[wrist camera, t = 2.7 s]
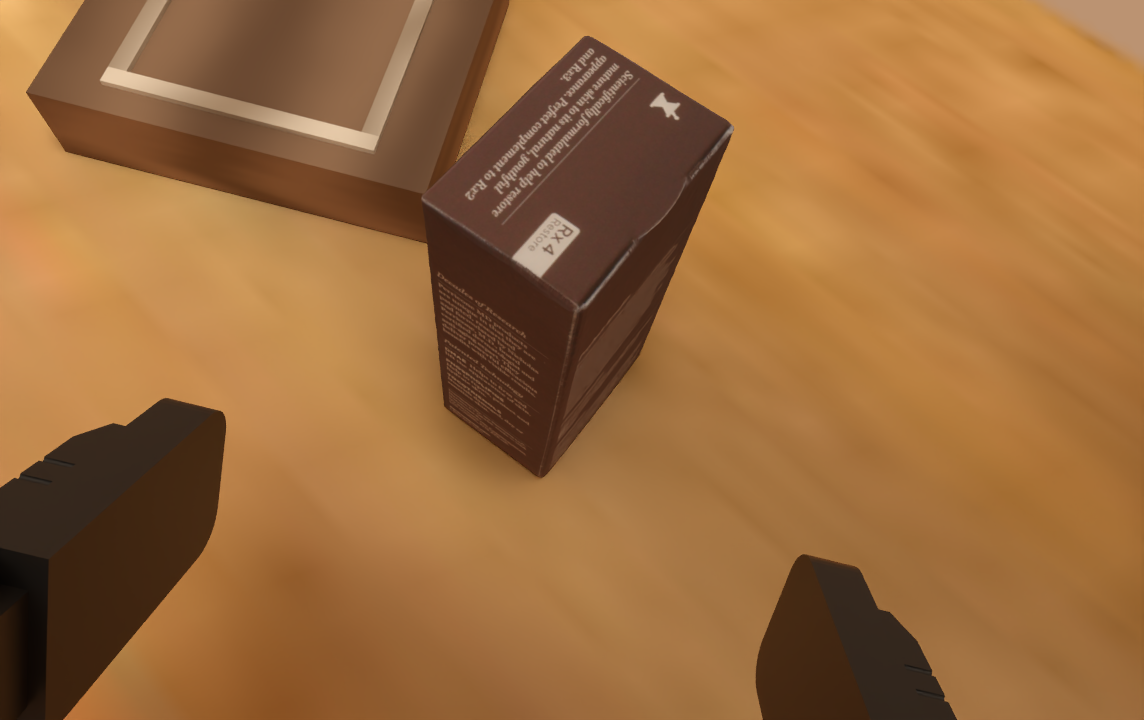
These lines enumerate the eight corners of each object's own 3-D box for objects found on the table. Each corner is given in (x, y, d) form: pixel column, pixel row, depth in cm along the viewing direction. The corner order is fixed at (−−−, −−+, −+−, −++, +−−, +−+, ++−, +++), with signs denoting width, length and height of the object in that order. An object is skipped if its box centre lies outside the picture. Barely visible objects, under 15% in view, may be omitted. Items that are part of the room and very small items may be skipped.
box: (538, 280, 30) (588, 21, 19) (641, 354, 29) (756, 130, 18) (428, 405, 27) (411, 190, 16) (537, 488, 27) (597, 323, 16)
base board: (508, 4, 35) (513, -62, 32) (427, 243, 30) (425, 190, 27) (200, -78, 34) (177, -152, 31) (65, 151, 29) (23, 87, 26)
